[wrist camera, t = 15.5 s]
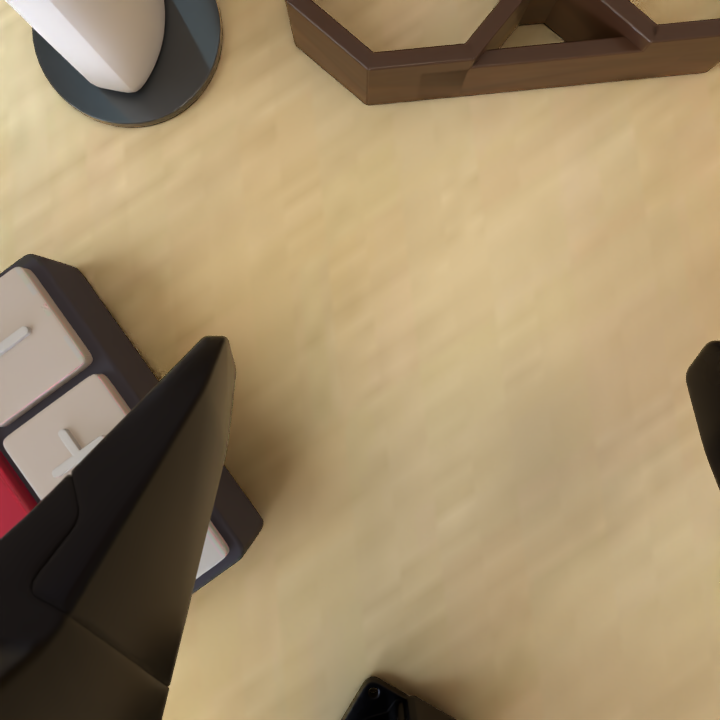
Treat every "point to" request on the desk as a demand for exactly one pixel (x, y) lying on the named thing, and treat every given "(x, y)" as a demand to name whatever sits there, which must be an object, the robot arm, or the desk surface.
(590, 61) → the rack
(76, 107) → the coaster
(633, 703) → the desk surface
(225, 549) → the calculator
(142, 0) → the eye dropper bottle
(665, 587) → the desk surface
